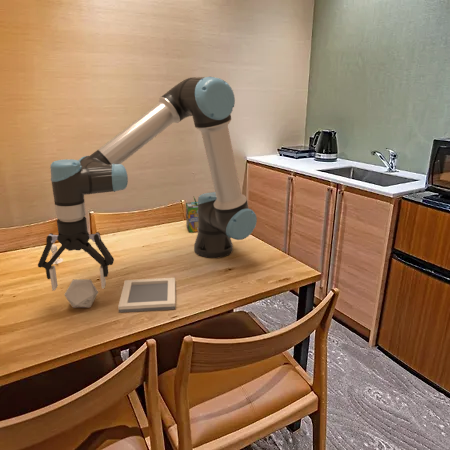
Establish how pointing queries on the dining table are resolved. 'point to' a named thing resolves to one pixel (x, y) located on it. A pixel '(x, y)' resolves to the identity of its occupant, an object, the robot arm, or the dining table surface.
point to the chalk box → (192, 216)
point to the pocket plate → (147, 295)
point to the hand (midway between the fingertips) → (79, 287)
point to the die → (81, 293)
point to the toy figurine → (54, 253)
